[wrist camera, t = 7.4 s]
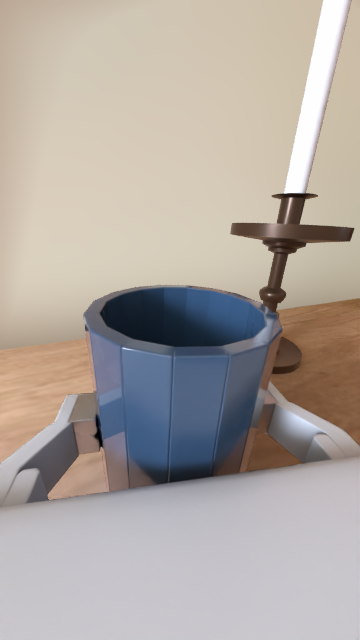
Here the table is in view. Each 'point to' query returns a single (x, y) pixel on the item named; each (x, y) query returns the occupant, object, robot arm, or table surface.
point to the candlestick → (302, 175)
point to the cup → (178, 381)
